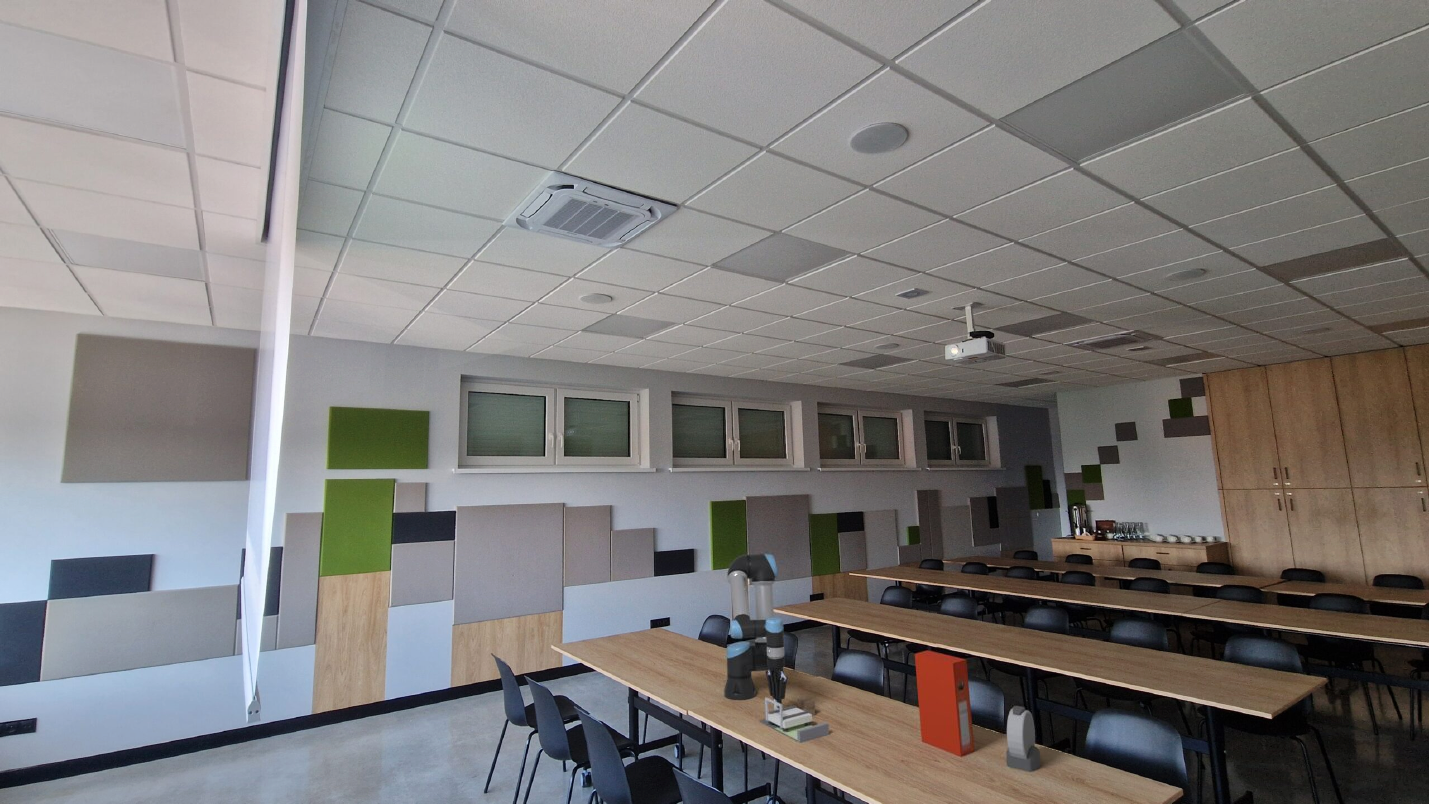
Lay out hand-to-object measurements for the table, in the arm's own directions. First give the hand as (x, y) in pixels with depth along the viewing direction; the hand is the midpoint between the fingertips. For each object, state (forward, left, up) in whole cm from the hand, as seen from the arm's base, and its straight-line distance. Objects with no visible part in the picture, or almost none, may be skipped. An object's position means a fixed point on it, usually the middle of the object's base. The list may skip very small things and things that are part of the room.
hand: (778, 715), depth 263 cm
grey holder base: (+9, 0, -2) cm, 9 cm away
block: (+1, +14, -2) cm, 14 cm away
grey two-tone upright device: (+81, +45, -2) cm, 93 cm away
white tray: (+7, 0, -2) cm, 8 cm away
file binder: (+57, +35, -2) cm, 67 cm away
